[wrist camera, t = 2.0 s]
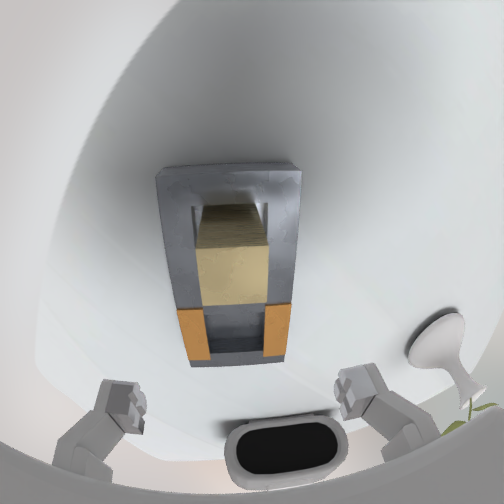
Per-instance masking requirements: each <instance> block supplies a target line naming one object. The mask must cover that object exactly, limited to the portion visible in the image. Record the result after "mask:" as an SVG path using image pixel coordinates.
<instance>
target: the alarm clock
mask: <svg viewBox="0 0 504 504" xmlns="http://www.w3.org/2000/svg"><path fill="white" fill-rule="evenodd" d="M347 454H348V439H347V435H346V433H345V431H344V429H343V428H342V426H341V425H340V424H339V422H337V421H336V420H334V419H333V418H330V417H327V416H324V415H318V416H314V413H310V414H303V415H297V416H289V417H281V418H272V419H262V420H249V424H245V425H241V426H239V427H238V428H236V429H234V430H233V431H232V432H231V433H230V435H229V436H228V437H227V440H226V443H225V448H224V456H225V461H226V465H227V469H228V472H229V475H230V477H231V479H232V481H233V482H234V483H235V484H236V485H237V486H239V487H241V488H244V489H246V490H267V491H271V490H279V489H286V488H292V487H298V486H304V485H309V484H314V482H316V481H319V480H322V479H324V478H326V477H327V476H328V475H329V474H330V473H331V472H333V471H334V470H335V469H336V468H337V467H338V466H339V465H340V464H341V463H342V462H343V461H344V460H345V458H346V456H347Z"/></svg>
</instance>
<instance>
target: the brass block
mask: <svg viewBox="0 0 504 504" xmlns="http://www.w3.org/2000/svg"><path fill="white" fill-rule="evenodd" d="M195 250H196V259H197V267H198V275H199V283H200V291H201V298H202V305H203V306H212V305H233V304H251V303H266V302H267V289H268V263H269V244H268V241H267V238H266V235H265V231H264V228H263V225H262V222H261V219H260V216H259V213H258V210H257V207H256V204H255V203H246V204H221V205H203V210H202V215H201V220H200V226H199V231H198V237H197V243H196V249H195Z"/></svg>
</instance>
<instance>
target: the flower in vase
mask: <svg viewBox="0 0 504 504" xmlns="http://www.w3.org/2000/svg"><path fill="white" fill-rule="evenodd" d="M464 332H465V321H464V318H463V316H462V315H461V314H457V313H450V314H447V315H445V316H443V317H441V318H439V319H437V320H436V321H435V322H433V323H432V324H431V325H429V326H428V327H427V328H426V329H425V330H424V331H423V332H422V333H421V334H420V335H419V336H418V338H417V339H416V340H415V342H414V343H413V345H412V346H411V348H410V351H409V356H408V362H409V364H410V365H412V366H413V367H415V368H420V369H433V368H442V369H445V370H447V371H448V372H449V373H450V375H451V376H452V378H453V380H454V381H455V383H456V385H457V388H458V391H459V394H460V408H459V409H460V410H462V409H464V408H466V407H467V406H469V405H470V410H469V417H468V421H469V420H470V418H471V409H472V403H473V402H474V401H475V400H476V399H477V398H479V397H480V396H481V395H482V393H484V391H485V390H486V388H487V386H484V385H481V384H478V383H477V382H475V381H474V380H473V379H472V378H471V377H470V376H469V374H468V373H467V372H466V370H465V369H464V367H463V366H462V364H461V362H460V359H459V351H460V347H461V344H462V340H463V336H464ZM494 405H497V404H495V403H489V404H485V405H483V406H480V407H478V408H475V409H473V410H474V411H480V410H483V409H485V408H487V407H490V406H494ZM465 423H466V422H465V421H455V422H454V423H452V424H451V425H450V426H449V427H448V428H447V429H446V430H445V431H444V432H443V434H442V435H441V437H442V436H444V435H446V434H448V433H449V432H451V431H453V430H455V429H456V428H458V427H460V426H461V425H463V424H465Z"/></svg>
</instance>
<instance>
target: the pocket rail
mask: <svg viewBox="0 0 504 504" xmlns="http://www.w3.org/2000/svg"><path fill="white" fill-rule="evenodd" d="M155 178H156V187H157V196H158V204H159V211H160V218H161V225H162V232H163V239H164V245H165V251H166V257H167V262H168V268H169V273H170V278H171V284H172V289H173V294H174V298H175V303H176V308H177V315H178V319H179V324H180V328H181V332H182V336H183V340H184V344H185V348H186V352H187V356H188V360H189V361H190V365H191V367H222V366H241V365H255V364H267V363H277V362H284V356H285V353H286V345H287V338H288V330H289V322H290V314H291V305H292V304H291V299H292V290H293V280H294V270H295V260H296V249H297V237H298V225H299V211H300V196H301V180H302V171H301V170H300V169H299V168H298V167H296V166H295V165H294V164H293V163H228V164H207V165H192V166H178V167H167V168H163V170H162V171H161V172H160V173H159V174H158V175H157V176H156V177H155ZM246 203H255V204H256V207H257V210H258V213H259V216H260V219H261V222H262V225H263V228H264V231H265V235H266V238H267V241H268V244H269V263H268V289H267V302H266V303H251V304H233V305H212V306H203V305H202V298H201V291H200V283H199V275H198V267H197V259H196V250H195V249H196V243H197V237H198V231H199V226H200V220H201V215H202V210H203V205H221V204H246Z"/></svg>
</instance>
